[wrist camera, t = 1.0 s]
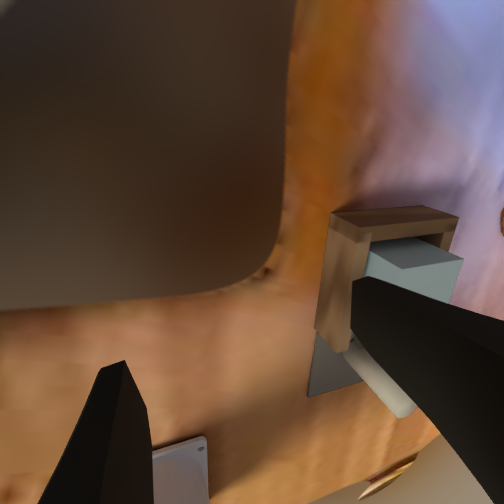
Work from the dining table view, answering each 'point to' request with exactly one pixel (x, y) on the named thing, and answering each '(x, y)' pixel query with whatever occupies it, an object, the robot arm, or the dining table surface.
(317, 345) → the mat
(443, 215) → the wooden arch frame
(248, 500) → the dining table surface
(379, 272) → the pull block
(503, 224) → the cookie
